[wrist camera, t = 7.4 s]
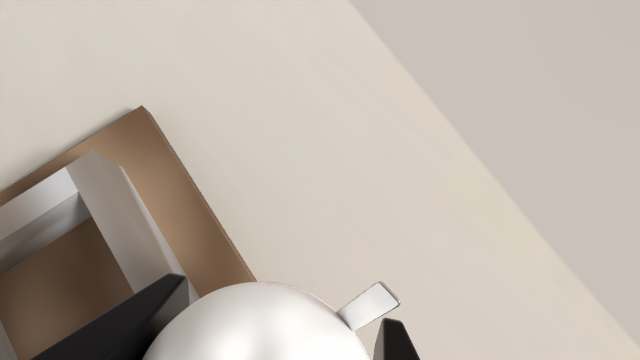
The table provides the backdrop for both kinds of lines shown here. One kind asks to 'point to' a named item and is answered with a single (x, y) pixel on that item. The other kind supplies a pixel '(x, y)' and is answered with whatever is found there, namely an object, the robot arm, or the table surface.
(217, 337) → the milkshake
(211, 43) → the table surface
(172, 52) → the table surface
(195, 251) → the collar plate
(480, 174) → the table surface
